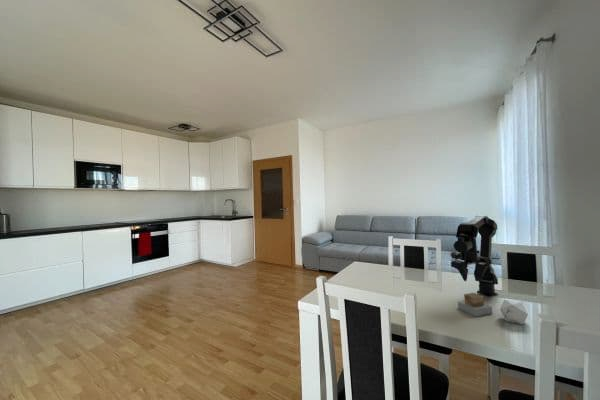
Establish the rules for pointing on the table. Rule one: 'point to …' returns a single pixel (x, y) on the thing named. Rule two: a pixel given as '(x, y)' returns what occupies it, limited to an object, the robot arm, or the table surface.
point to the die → (513, 311)
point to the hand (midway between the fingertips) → (472, 279)
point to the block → (474, 299)
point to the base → (475, 309)
